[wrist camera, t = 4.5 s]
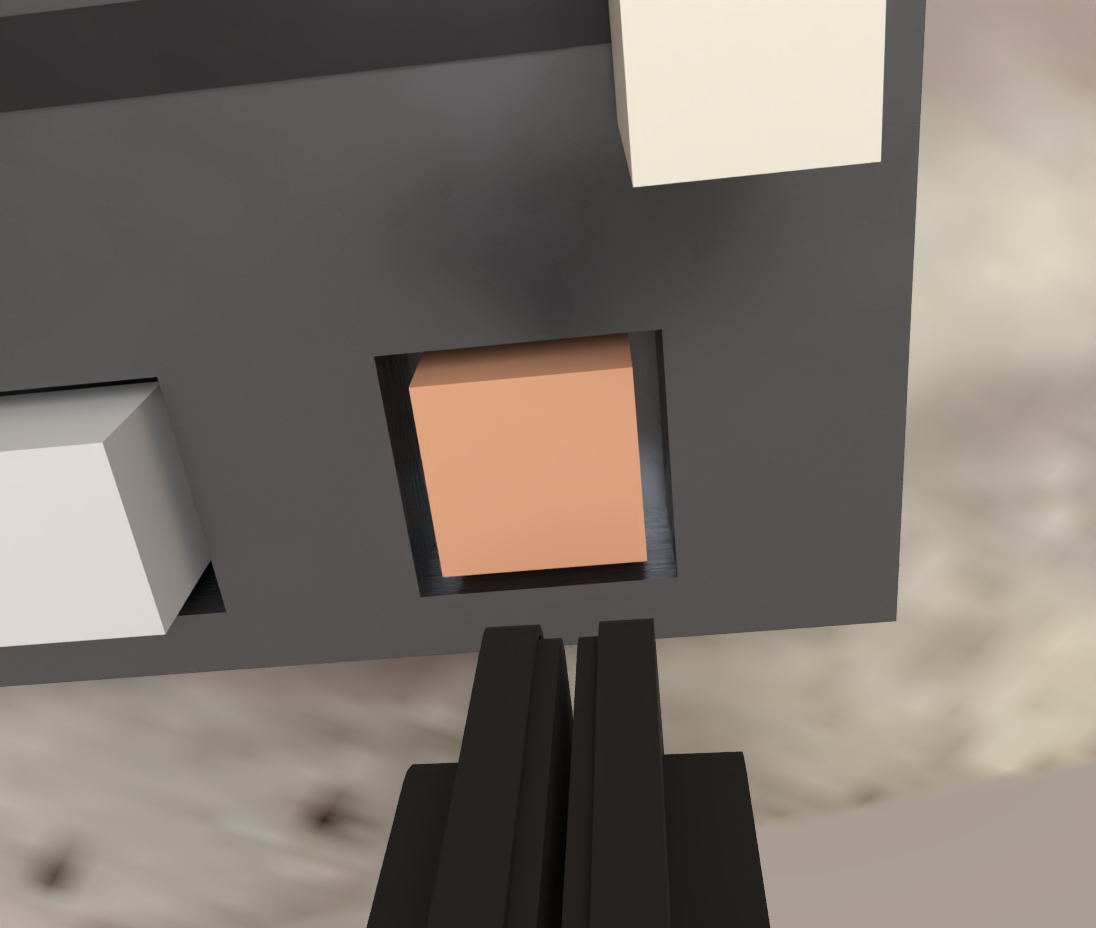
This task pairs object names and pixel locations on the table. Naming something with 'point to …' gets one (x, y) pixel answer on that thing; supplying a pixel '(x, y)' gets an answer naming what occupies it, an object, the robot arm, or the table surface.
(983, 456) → the table surface
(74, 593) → the grey key
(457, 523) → the terracotta key
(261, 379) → the control panel
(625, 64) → the cream tall block
